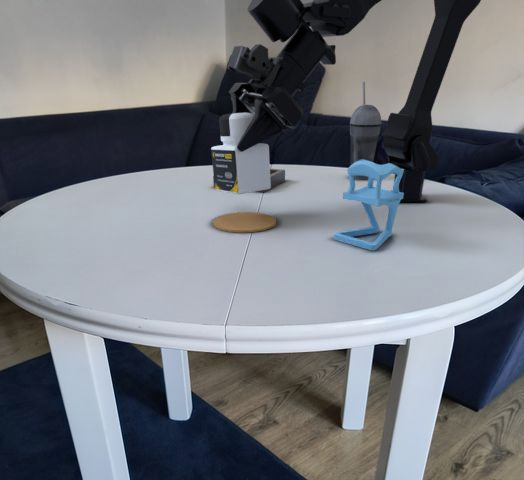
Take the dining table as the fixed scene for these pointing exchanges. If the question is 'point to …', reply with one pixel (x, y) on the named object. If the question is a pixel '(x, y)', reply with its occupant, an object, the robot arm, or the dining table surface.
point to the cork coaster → (244, 222)
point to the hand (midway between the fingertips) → (230, 146)
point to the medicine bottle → (239, 158)
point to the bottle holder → (273, 178)
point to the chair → (372, 201)
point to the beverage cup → (364, 133)
